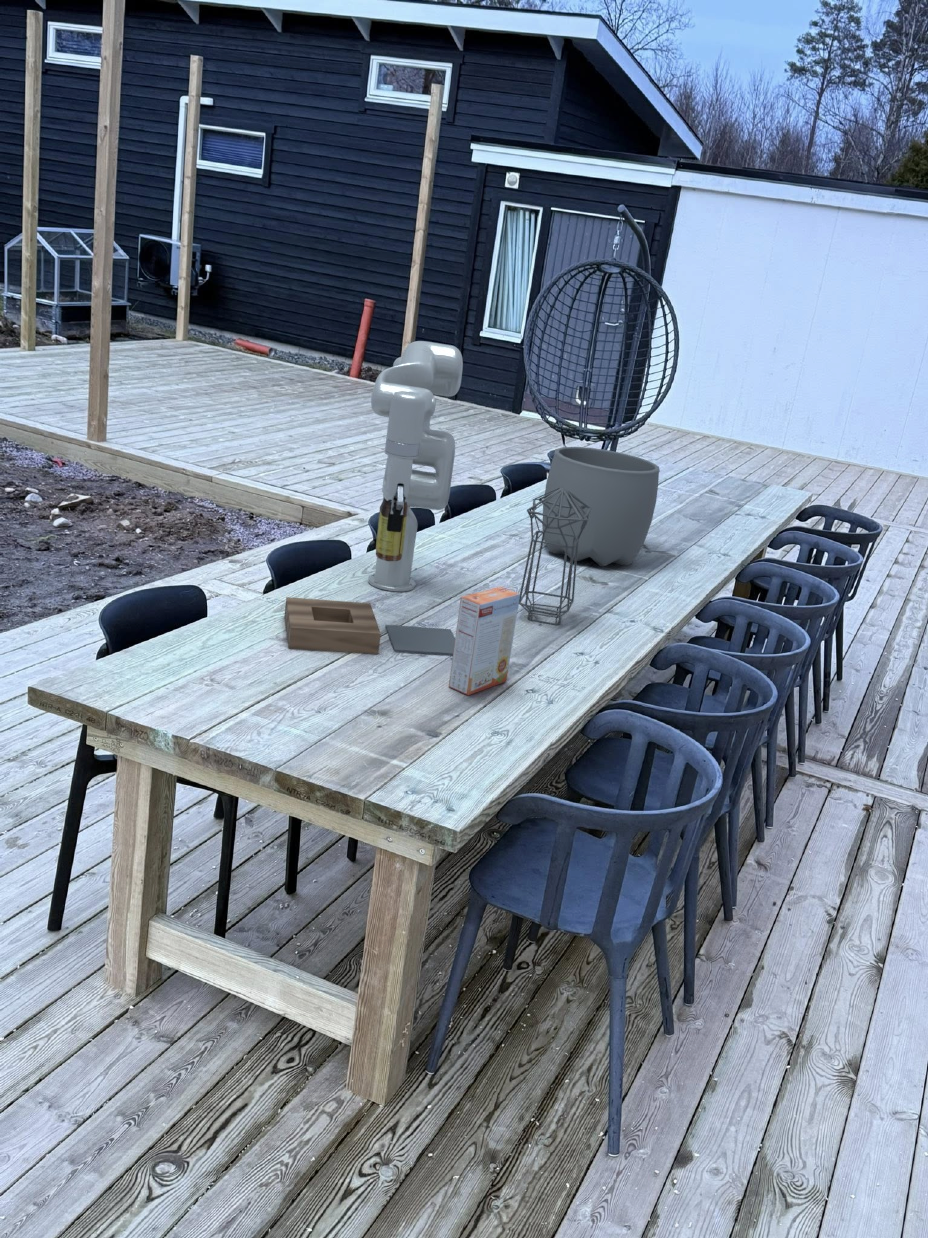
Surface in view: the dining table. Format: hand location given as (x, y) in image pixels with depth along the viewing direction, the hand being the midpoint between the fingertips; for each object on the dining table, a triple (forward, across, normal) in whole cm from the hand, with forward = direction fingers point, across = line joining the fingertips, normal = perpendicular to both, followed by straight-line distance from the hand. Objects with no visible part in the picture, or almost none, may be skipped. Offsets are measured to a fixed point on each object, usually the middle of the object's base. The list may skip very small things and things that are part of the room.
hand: (392, 526), depth 254 cm
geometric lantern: (+28, -24, +45) cm, 58 cm away
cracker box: (+27, +24, +20) cm, 41 cm away
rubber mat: (+27, 0, +11) cm, 29 cm away
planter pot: (+29, -88, +76) cm, 120 cm away
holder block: (+27, +1, -11) cm, 29 cm away
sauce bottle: (+8, 0, 0) cm, 8 cm away
